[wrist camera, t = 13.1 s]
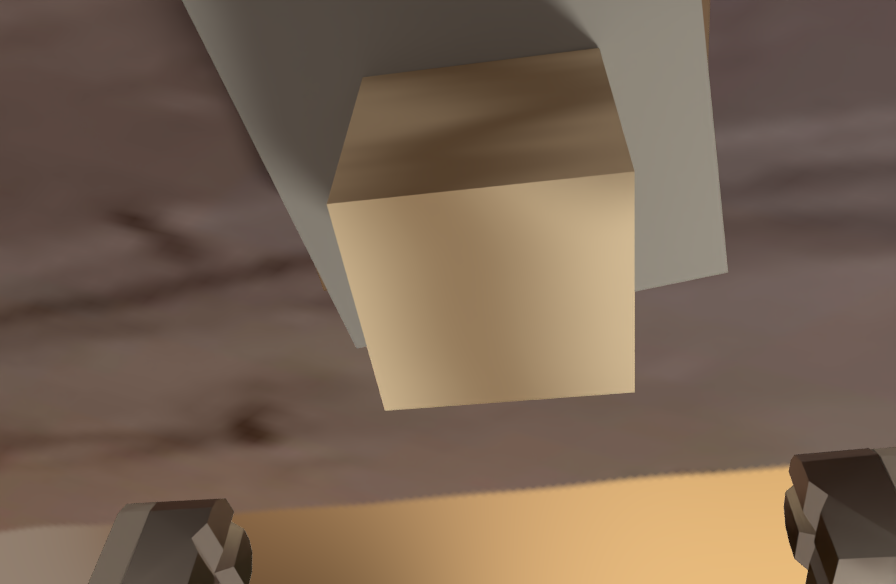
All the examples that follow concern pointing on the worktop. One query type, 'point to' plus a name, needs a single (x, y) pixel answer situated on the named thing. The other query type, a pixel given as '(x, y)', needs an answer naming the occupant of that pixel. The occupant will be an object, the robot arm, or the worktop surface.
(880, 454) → the robot arm
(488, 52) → the slate top slab
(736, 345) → the worktop surface
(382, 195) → the birch block
